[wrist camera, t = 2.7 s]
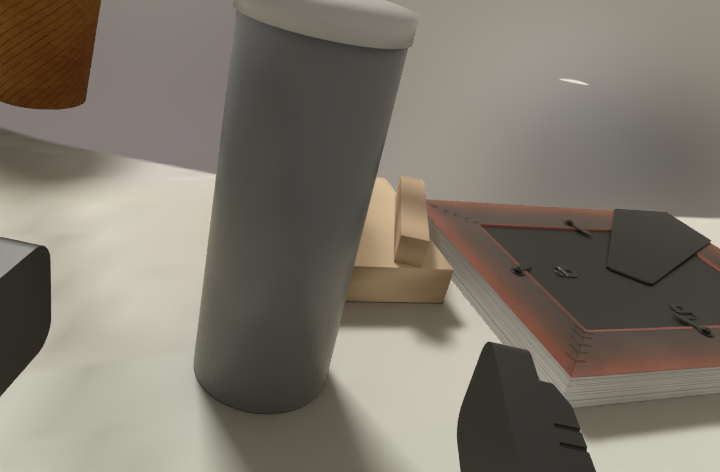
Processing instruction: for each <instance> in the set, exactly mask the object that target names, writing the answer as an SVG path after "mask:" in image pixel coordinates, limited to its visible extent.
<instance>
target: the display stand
mask: <svg viewBox="0 0 720 472" xmlns="http://www.w3.org/2000/svg"><path fill="white" fill-rule="evenodd" d="M453 271H454V269H453V268H452V267H451V265H450V264H449V263H448V261H447V260H446V259H445V257H444V256H443V255H442V253H441V252H440V251H439V249H438V248H437V247H436V245H435V244H434V243H433V241H432V240H431V239H430V237H429V229H428V218H427V207H426V197H425V187H424V180H420V179H415V178H411V177H407V176H401V178H400V181H399V185H398V189H397V192H395V191H394V190H393V188H392V187H391V186H390V184H389V183H388V182H387V180H386V179H385V178H377V177H376V180H375V184H374V188H373V192H372V196H371V200H370V204H369V208H368V212H367V216H366V220H365V224H364V228H363V232H362V236H361V241H360V245H359V249H358V253H357V257H356V261H355V265H354V269H353V273H352V277H351V281H350V285H349V289H348V293H347V297H346V301H364V302H421V303H443V301H444V298H445V295H446V292H447V289H448V286H449V283H450V280H451V277H452V274H453Z"/></svg>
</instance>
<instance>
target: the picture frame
mask: <svg viewBox="0 0 720 472" xmlns="http://www.w3.org/2000/svg"><path fill="white" fill-rule="evenodd" d="M426 207H427V218H428V229H429V237H430V239H431V240H432V241H433V243H434V244H435V245H436V247H437V248H438V249H439V251H440V252H441V253H442V255H443V256H444V257H445V259H446V260H447V261H448V263H449V264H450V265H451V267H452V268H453V269H454V271H453V274H452V277H451V280H452V281H453V282H454V284H455V285H456V286H457V287H458V289H459V290H460V291H461V292H462V294H463V295H464V296H465V297H466V299H467V300H468V301H469V302H470V304H471V305H472V306H473V307H474V309H475V310H476V311H477V312H478V314H479V315H480V316H481V317H482V319H483V320H484V321H485V322H486V324H487V325H488V326H489V327H490V329H491V330H492V331H493V332H494V334H495V335H496V336H497V337H498V339H499V340H500V341H501V342H502V344H503V345H507V346H512V347H516V348H521V349H526V350H528V351H530V353H531V355H532V358H533V362H534V365H535V368H536V371H537V374H538V377H539V380H540V381H544V382H549V383H553V384H554V385H555V386H556V388H557V389H558V390H559V391H560V392H561V393H562V395H563V396H564V397H565V398H566V399H567V401H568V402H569V403H570V404H571V405H572V408H580V407H590V406H600V405H609V404H619V403H629V402H639V401H649V400H659V399H668V398H678V397H688V396H698V395H708V394H718V393H720V249H719V248H718V247H716V246H715V245H713V244H711V243H710V242H711V240H709V239H708V238H706V237H705V236H703V235H702V234H700V233H698V232H697V231H695V230H694V229H692V228H691V227H689V226H687V225H686V224H684V223H683V222H681V221H679V220H678V219H676V218H675V217H673V216H672V215H670V214H668V213H667V212H655V211H640V210H625V209H615V210H614V211H607V210H591V209H574V208H558V207H557V208H556V207H540V206H525V205H508V204H491V203H475V202H459V201H442V200H426Z"/></svg>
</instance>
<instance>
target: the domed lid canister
mask: <svg viewBox="0 0 720 472" xmlns="http://www.w3.org/2000/svg"><path fill="white" fill-rule="evenodd" d="M233 6H234V8H235V9H236V15H235V24H234V32H233V41H232V48H231V57H230V66H229V73H228V82H227V90H226V98H225V107H224V115H223V123H222V132H221V140H220V149H219V157H218V166H217V173H216V181H215V190H214V198H213V206H212V215H211V223H210V231H209V240H208V248H207V256H206V265H205V273H204V281H203V289H202V298H201V306H200V314H199V323H198V331H197V339H196V348H195V356H194V371H195V375H196V377H197V380H198V381H199V383H200V384H201V386H202V387H203V388H204V389H205V391H207V392H208V393H209V394H210V395H211V396H212V397H214V398H215V399H217V400H218V401H220V402H222V403H224V404H226V405H228V406H230V407H233V408H235V409H239V410H242V411H246V412H252V413H261V414H274V413H283V412H288V411H292V410H295V409H298V408H300V407H302V406H305V405H306V404H308V403H309V402H311V401H312V400H314V399H315V398H316V397H317V396H318V395H319V393H320V392H321V391H322V389H323V387H324V385H325V382H326V378H327V374H328V370H329V366H330V362H331V358H332V354H333V350H334V346H335V341H336V337H337V333H338V329H339V325H340V321H341V317H342V313H343V309H344V305H345V301H346V297H347V293H348V289H349V285H350V281H351V277H352V273H353V269H354V265H355V261H356V257H357V253H358V249H359V245H360V241H361V236H362V232H363V228H364V224H365V220H366V216H367V212H368V208H369V204H370V200H371V196H372V192H373V188H374V184H375V180H376V175H377V172H378V168H379V163H380V159H381V155H382V151H383V148H384V144H385V140H386V135H387V131H388V127H389V123H390V119H391V115H392V111H393V107H394V102H395V99H396V95H397V91H398V87H399V83H400V79H401V75H402V71H403V67H404V63H405V59H406V55H407V51H408V48H409V47H411V46H412V44H413V40H414V36H415V32H416V28H417V24H418V20H419V16H418V15H417V14H416V13H414V12H412V11H410V10H408V9H406V8H404V7H401V6H399V5H396V4H393V3H390V2H387V1H384V0H234V2H233Z"/></svg>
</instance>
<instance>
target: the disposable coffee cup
mask: <svg viewBox="0 0 720 472" xmlns="http://www.w3.org/2000/svg"><path fill="white" fill-rule="evenodd" d="M100 3H101V0H0V101H1V102H5V103H7V104H10V105H14V106H19V107H25V108H32V109H66V108H72V107H76V106H79V105H81V104H83V103H84V102H85V100H86V94H87V87H88V80H89V75H90V68H91V62H92V55H93V49H94V42H95V36H96V28H97V23H98V17H99V10H100Z"/></svg>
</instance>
